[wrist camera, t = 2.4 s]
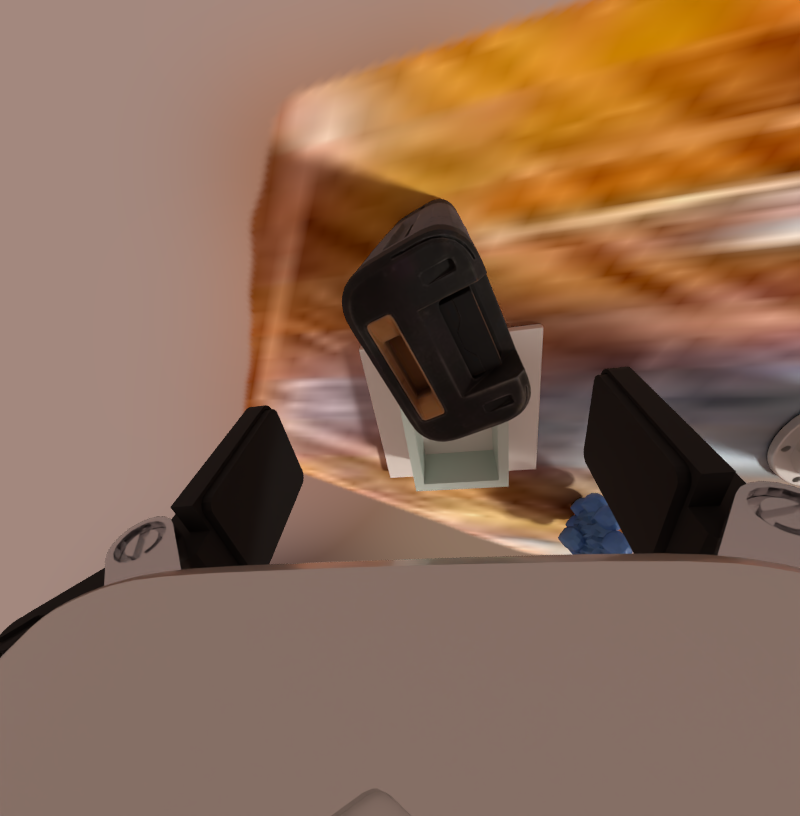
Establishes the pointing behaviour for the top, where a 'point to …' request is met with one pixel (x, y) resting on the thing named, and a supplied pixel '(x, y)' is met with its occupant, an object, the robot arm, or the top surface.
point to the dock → (471, 455)
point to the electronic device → (436, 327)
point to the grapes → (593, 529)
